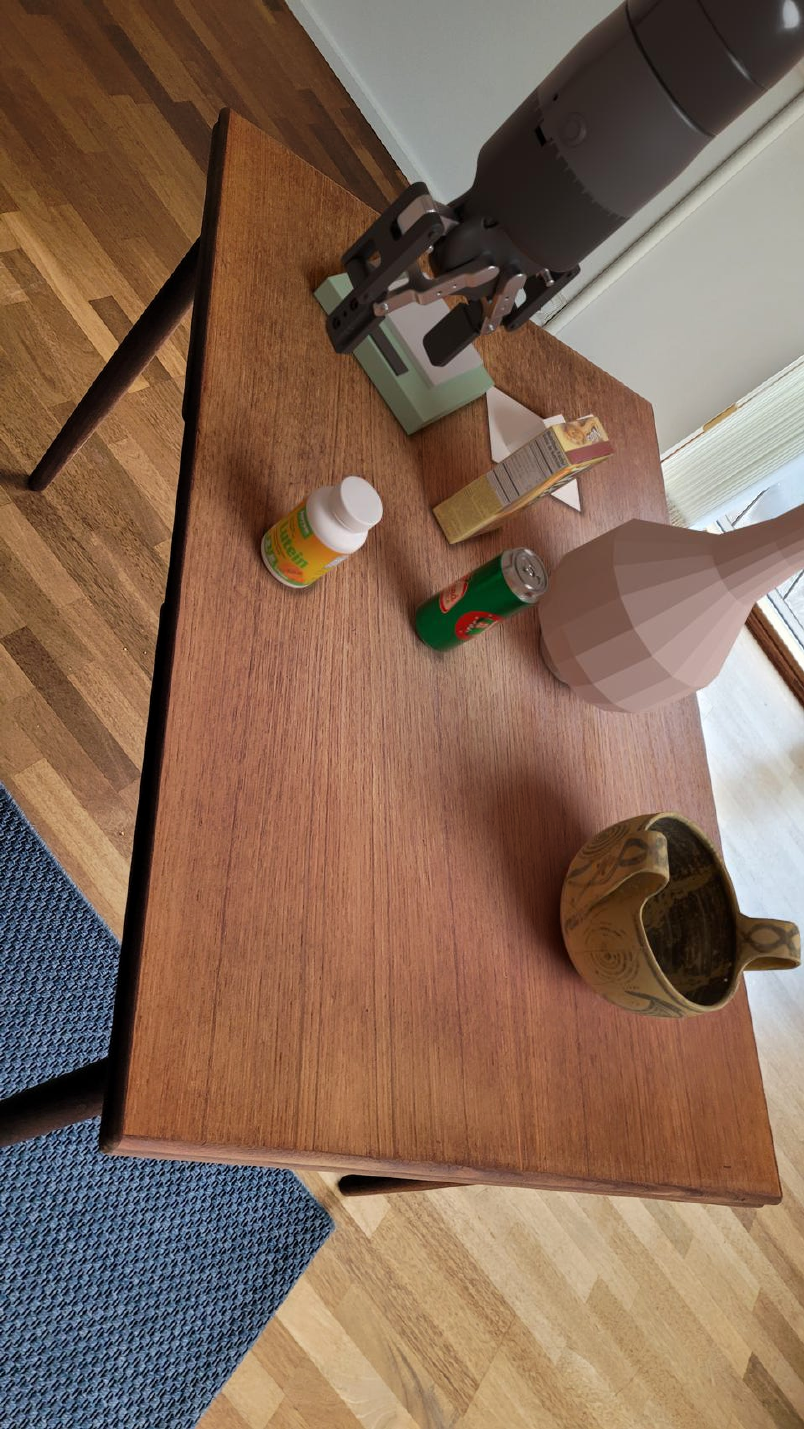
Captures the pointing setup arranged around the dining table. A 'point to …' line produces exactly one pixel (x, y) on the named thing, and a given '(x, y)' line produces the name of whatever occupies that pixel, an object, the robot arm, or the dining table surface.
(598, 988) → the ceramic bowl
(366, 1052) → the dining table surface
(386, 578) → the dining table surface
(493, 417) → the napkin holder
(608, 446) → the candy box
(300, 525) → the supplement bottle
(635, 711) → the vase
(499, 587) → the soda can
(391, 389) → the scale
